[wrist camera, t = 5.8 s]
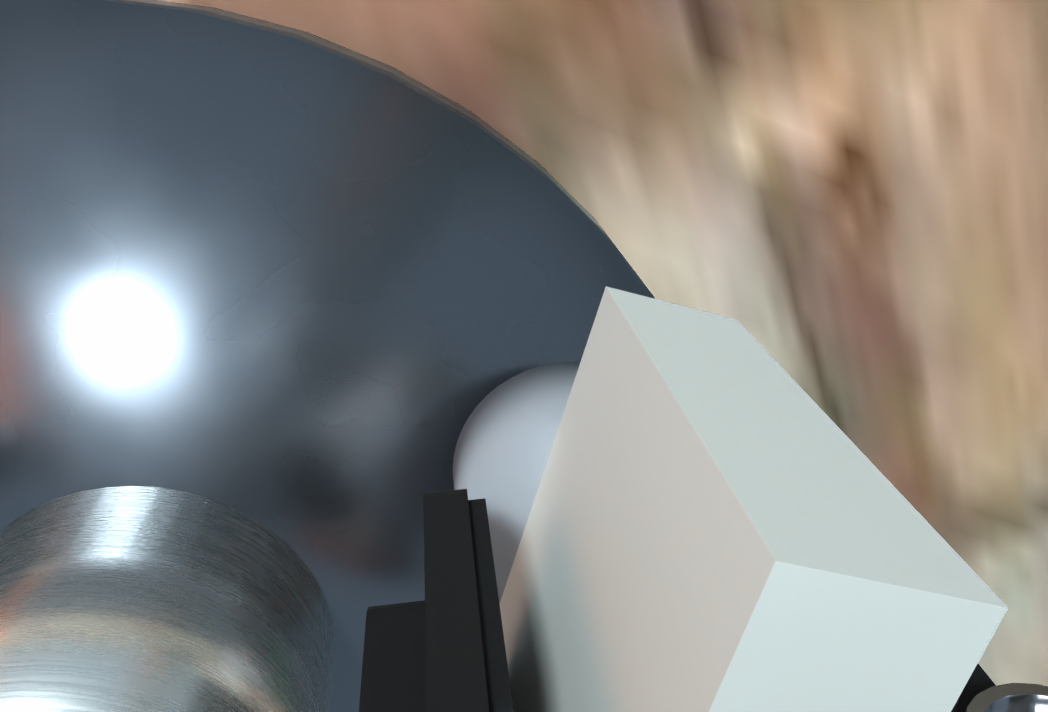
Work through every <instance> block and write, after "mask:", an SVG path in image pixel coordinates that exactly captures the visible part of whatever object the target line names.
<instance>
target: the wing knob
mask: <svg viewBox="0 0 1048 712" xmlns="http://www.w3.org/2000/svg"><path fill="white" fill-rule="evenodd" d="M453 482H454V490H459V489H467V495H468V500H475V499H484V498H485V499H486V507H487V514H488V522H489V529H490V537H491V544H492V552H493V559H494V567H495V574H496V582H497V589H498V597H499V604H500V612H501V619H502V627H503V634H504V642H505V649H506V657H507V664H508V672H509V680H510V687H511V695H512V702H513V711H514V712H951V711H952V709H953V707H954V705H955V703H956V702H957V700H958V698H959V696H960V694H961V693H962V691H963V689H964V687H965V685H966V684H967V682H968V680H969V678H970V676H971V675H972V673H973V671H974V669H975V667H976V665H977V664H978V662H979V660H980V658H981V656H982V655H983V653H984V651H985V649H986V647H987V646H988V644H989V642H990V640H991V638H992V636H993V635H994V633H995V631H996V629H997V627H998V626H999V624H1000V622H1001V620H1002V618H1003V617H1004V615H1005V613H1006V611H1007V609H1008V607H1007V606H1006V605H1005V604H1004V603H1003V602H1002V601H1001V600H1000V599H999V597H998V596H997V595H996V594H995V593H994V592H993V591H992V590H991V589H990V588H989V587H988V586H987V585H986V584H985V583H984V582H983V580H982V579H981V578H980V577H979V576H978V575H977V574H976V573H975V572H974V571H973V570H972V569H971V568H970V567H969V566H968V565H967V563H966V562H965V561H964V560H963V559H962V558H961V557H960V556H959V555H958V554H957V553H956V552H955V551H954V550H953V549H952V548H951V546H950V545H949V544H948V543H947V542H946V541H945V540H944V539H943V538H942V537H941V536H940V535H939V534H938V533H937V532H936V530H935V529H934V528H933V527H932V526H931V525H930V524H929V523H928V522H927V521H926V520H925V519H924V518H923V517H922V516H921V515H920V513H919V512H918V511H917V510H916V509H915V508H914V507H913V506H912V505H911V504H910V503H909V502H908V501H907V500H906V499H905V498H904V496H903V495H902V494H901V493H900V492H899V491H898V490H897V489H896V488H895V487H894V486H893V485H892V484H891V483H890V482H889V481H888V479H887V478H886V477H885V476H884V475H883V474H882V473H881V472H880V471H879V470H878V469H877V468H876V467H875V466H874V465H873V464H872V462H871V461H870V460H869V459H868V458H867V457H866V456H865V455H864V454H863V453H862V452H861V451H860V450H859V449H858V448H857V447H856V445H855V444H854V443H853V442H852V441H851V440H850V439H849V438H848V437H847V436H846V435H845V434H844V433H843V432H842V431H841V430H840V428H839V427H838V426H837V425H836V424H835V423H834V422H833V421H832V420H831V419H830V418H829V417H828V416H827V415H826V414H825V413H824V411H823V410H822V409H821V408H820V407H819V406H818V405H817V404H816V403H815V402H814V401H813V400H812V399H811V398H810V397H809V396H808V394H807V393H806V392H805V391H804V390H803V389H802V388H801V387H800V386H799V385H798V384H797V383H796V382H795V381H794V380H793V379H792V377H791V376H790V375H789V374H788V373H787V372H786V371H785V370H784V369H783V368H782V367H781V366H780V365H779V364H778V363H777V362H776V360H775V359H774V358H773V357H772V356H771V355H770V354H769V353H768V352H767V351H766V350H765V349H764V348H763V347H762V346H761V345H760V343H759V342H758V341H757V340H756V339H755V338H754V337H753V336H752V335H751V334H750V333H749V332H748V331H747V330H746V329H745V328H744V326H743V325H742V324H741V323H740V322H739V321H738V320H736V319H732V318H728V317H724V316H720V315H716V314H712V313H708V312H704V311H700V310H697V309H693V308H689V307H685V306H681V305H677V304H673V303H669V302H665V301H661V300H658V299H654V298H650V297H646V296H642V295H638V294H634V293H630V292H626V291H622V290H619V289H615V288H611V287H607V286H606V287H605V290H604V293H603V296H602V299H601V302H600V305H599V308H598V311H597V314H596V317H595V320H594V323H593V326H592V329H591V332H590V335H589V338H588V341H587V344H586V347H585V350H584V353H583V356H582V359H581V362H577V361H569V362H556V363H551V364H546V365H541V366H538V367H535V368H532V369H529V370H526V371H524V372H522V373H520V374H518V375H516V376H513V377H512V378H510V379H508V380H507V381H505V382H504V383H502V384H500V385H499V386H498V387H496V388H495V389H494V390H493V391H491V392H490V393H489V394H488V395H487V396H486V397H485V398H484V399H483V400H482V401H481V402H480V403H479V404H478V405H477V406H476V408H475V409H474V411H473V412H472V413H471V415H470V416H469V417H468V419H467V421H466V423H465V425H464V426H463V428H462V430H461V433H460V435H459V438H458V441H457V443H456V448H455V453H454V457H453Z"/></svg>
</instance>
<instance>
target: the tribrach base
mask: <svg viewBox="0 0 1048 712" xmlns="http://www.w3.org/2000/svg"><path fill="white" fill-rule="evenodd" d="M606 286H607V287H611V288H615V289H619V290H622V291H626V292H630V293H634V294H638V295H642V296H646V297H650V298H654V296H653V295H652V294H651V292H650V291H649V290H648V288H647V287H646V286H645V284H644V283H643V282H642V280H641V279H640V278H639V276H638V275H637V274H636V272H635V271H634V270H633V268H632V267H631V266H630V265H629V263H628V262H627V261H626V259H625V258H624V257H623V255H622V254H621V253H620V251H619V250H618V249H617V247H616V246H615V245H614V243H613V242H612V241H611V240H610V238H609V237H608V236H607V234H606V233H605V232H604V230H603V229H602V228H601V226H600V225H599V224H598V222H597V221H596V220H595V219H594V218H593V217H592V216H591V215H590V214H589V213H588V212H587V211H586V210H585V209H584V208H583V207H582V206H581V205H580V204H579V203H578V202H577V201H576V200H575V199H574V198H573V197H572V196H571V195H570V194H569V193H568V192H567V191H566V190H565V189H564V188H563V187H562V186H561V185H560V184H559V183H558V182H557V181H556V180H555V179H554V178H553V177H552V176H551V175H550V174H549V173H548V172H547V171H546V170H545V169H544V168H543V167H542V166H541V165H540V164H539V163H538V162H537V161H536V160H534V159H533V158H532V157H530V156H529V155H528V154H526V153H525V152H524V151H522V150H521V149H520V148H518V147H517V146H516V145H514V144H513V143H512V142H510V141H509V140H508V139H507V138H505V137H504V136H503V135H501V134H500V133H499V132H497V131H496V130H495V129H493V128H492V127H491V126H489V125H488V124H487V123H485V122H484V121H483V120H481V119H480V118H479V117H477V116H476V115H475V114H473V113H472V112H471V111H469V110H467V109H466V108H464V107H462V106H460V105H459V104H457V103H455V102H453V101H452V100H450V99H448V98H446V97H445V96H443V95H441V94H439V93H438V92H436V91H434V90H432V89H431V88H429V87H427V86H425V85H423V84H422V83H420V82H418V81H416V80H415V79H413V78H411V77H409V76H408V75H406V74H404V73H402V72H401V71H399V70H397V69H395V68H394V67H391V66H389V65H386V64H384V63H381V62H379V61H377V60H374V59H372V58H369V57H367V56H364V55H362V54H359V53H357V52H354V51H352V50H350V49H347V48H345V47H342V46H340V45H337V44H335V43H332V42H330V41H327V40H325V39H323V38H320V37H318V36H315V35H313V34H310V33H308V32H304V31H301V30H297V29H293V28H289V27H285V26H282V25H278V24H274V23H270V22H267V21H263V20H259V19H255V18H251V17H248V16H244V15H240V14H236V13H232V12H229V11H225V10H221V9H217V8H212V7H204V6H196V5H189V4H181V3H173V2H165V1H158V0H0V712H359V703H360V690H361V677H362V664H363V650H364V637H365V624H366V614H367V609H368V607H372V606H381V605H389V604H398V603H406V602H415V601H423V600H425V573H424V507H423V494H424V493H432V492H441V491H450V490H454V482H453V457H454V453H455V448H456V443H457V441H458V438H459V435H460V433H461V430H462V428H463V426H464V425H465V423H466V421H467V419H468V417H469V416H470V415H471V413H472V412H473V411H474V409H475V408H476V406H477V405H478V404H479V403H480V402H481V401H482V400H483V399H484V398H485V397H486V396H487V395H488V394H489V393H490V392H491V391H493V390H494V389H495V388H496V387H498V386H499V385H500V384H502V383H504V382H505V381H507V380H508V379H510V378H512V377H513V376H516V375H518V374H520V373H522V372H524V371H526V370H529V369H532V368H535V367H538V366H541V365H546V364H551V363H556V362H569V361H577V362H581V359H582V356H583V353H584V350H585V347H586V344H587V341H588V338H589V335H590V332H591V329H592V326H593V323H594V320H595V317H596V314H597V311H598V308H599V305H600V302H601V299H602V296H603V293H604V290H605V287H606ZM654 299H655V298H654Z"/></svg>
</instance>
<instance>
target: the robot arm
mask: <svg viewBox="0 0 1048 712" xmlns="http://www.w3.org/2000/svg"><path fill="white" fill-rule="evenodd" d="M423 507H424V573H425V600H423V601H415V602H406V603H398V604H389V605H381V606H372V607H368V609H367V614H366V624H365V637H364V650H363V664H362V677H361V690H360V703H359V712H514V711H513V702H512V695H511V687H510V680H509V672H508V664H507V657H506V649H505V642H504V634H503V627H502V619H501V612H500V604H499V597H498V589H497V582H496V574H495V567H494V559H493V552H492V544H491V537H490V529H489V522H488V514H487V507H486V499H485V498H484V499H475V500H468V495H467V489H459V490H450V491H441V492H432V493H424V494H423ZM951 712H1048V687H1047V686H1043V685H1039V684H1025V683H1009V684H1004V685H998V686H996V685H995V684H994V683H993V682H992V680H991V679H990V678H989V677H988V675H987V674H986V673H985V672H984V670H983V669H982V668H981V667H980V666H979V664H977V665H976V667H975V669H974V671H973V673H972V675H971V676H970V678H969V680H968V682H967V684H966V685H965V687H964V689H963V691H962V693H961V694H960V696H959V698H958V700H957V702H956V703H955V705H954V707H953V709H952V711H951Z"/></svg>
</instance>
